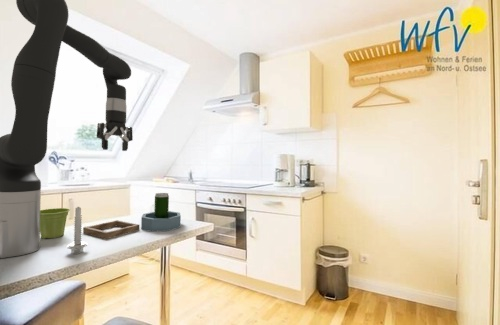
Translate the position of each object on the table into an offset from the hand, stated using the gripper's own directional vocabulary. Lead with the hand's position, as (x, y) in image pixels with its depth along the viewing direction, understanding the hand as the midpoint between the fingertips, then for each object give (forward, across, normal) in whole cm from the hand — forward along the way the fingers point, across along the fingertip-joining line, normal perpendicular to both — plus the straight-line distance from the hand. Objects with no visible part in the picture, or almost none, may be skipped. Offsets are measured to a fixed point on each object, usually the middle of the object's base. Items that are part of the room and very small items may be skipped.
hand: (115, 150), depth 106 cm
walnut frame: (+30, -8, -11) cm, 33 cm away
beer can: (+29, +7, -20) cm, 36 cm away
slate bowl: (+30, +7, -20) cm, 37 cm away
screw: (+30, -26, -22) cm, 46 cm away
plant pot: (+30, -22, 0) cm, 37 cm away
